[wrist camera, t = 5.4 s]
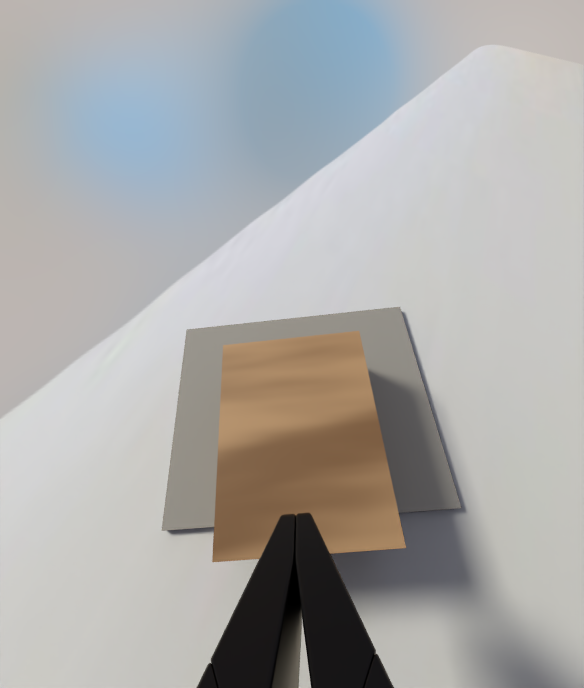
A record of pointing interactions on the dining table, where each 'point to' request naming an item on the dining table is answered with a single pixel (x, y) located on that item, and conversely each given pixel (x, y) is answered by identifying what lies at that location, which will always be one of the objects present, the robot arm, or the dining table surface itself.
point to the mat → (388, 391)
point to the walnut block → (301, 447)
